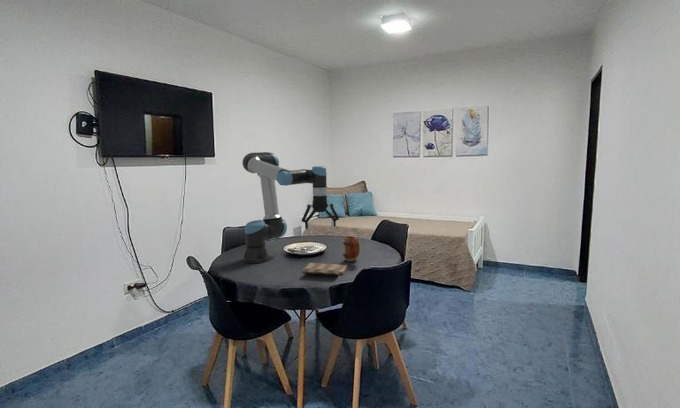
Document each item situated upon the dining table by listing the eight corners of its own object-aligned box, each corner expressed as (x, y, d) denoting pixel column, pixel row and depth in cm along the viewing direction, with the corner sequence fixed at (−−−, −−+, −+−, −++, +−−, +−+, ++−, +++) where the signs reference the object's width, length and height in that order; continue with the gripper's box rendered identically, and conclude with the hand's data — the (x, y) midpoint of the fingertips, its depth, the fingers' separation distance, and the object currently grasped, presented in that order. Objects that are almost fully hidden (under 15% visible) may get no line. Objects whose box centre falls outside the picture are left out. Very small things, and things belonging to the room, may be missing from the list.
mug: (341, 259, 225) (340, 235, 223) (353, 257, 228) (353, 233, 226) (351, 266, 212) (351, 240, 209) (364, 264, 215) (364, 239, 213)
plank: (302, 271, 194) (302, 268, 194) (306, 272, 201) (306, 269, 201) (336, 273, 190) (336, 270, 190) (339, 274, 197) (339, 271, 198)
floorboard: (303, 272, 202) (303, 269, 202) (309, 265, 214) (309, 262, 214) (343, 274, 198) (343, 272, 197) (347, 267, 209) (347, 264, 209)
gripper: (297, 196, 194) (298, 236, 197) (343, 194, 200) (344, 233, 203) (295, 195, 201) (297, 233, 204) (340, 193, 207) (341, 230, 210)
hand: (320, 233), depth 203 cm, fingers open, 13 cm apart
